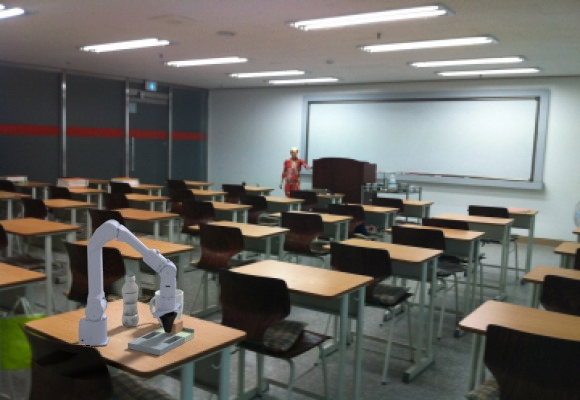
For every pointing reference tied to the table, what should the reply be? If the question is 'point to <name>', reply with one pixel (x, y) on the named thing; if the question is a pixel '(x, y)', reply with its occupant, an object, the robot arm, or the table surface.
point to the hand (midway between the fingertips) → (167, 332)
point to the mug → (157, 303)
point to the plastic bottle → (130, 302)
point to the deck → (161, 341)
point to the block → (177, 327)
